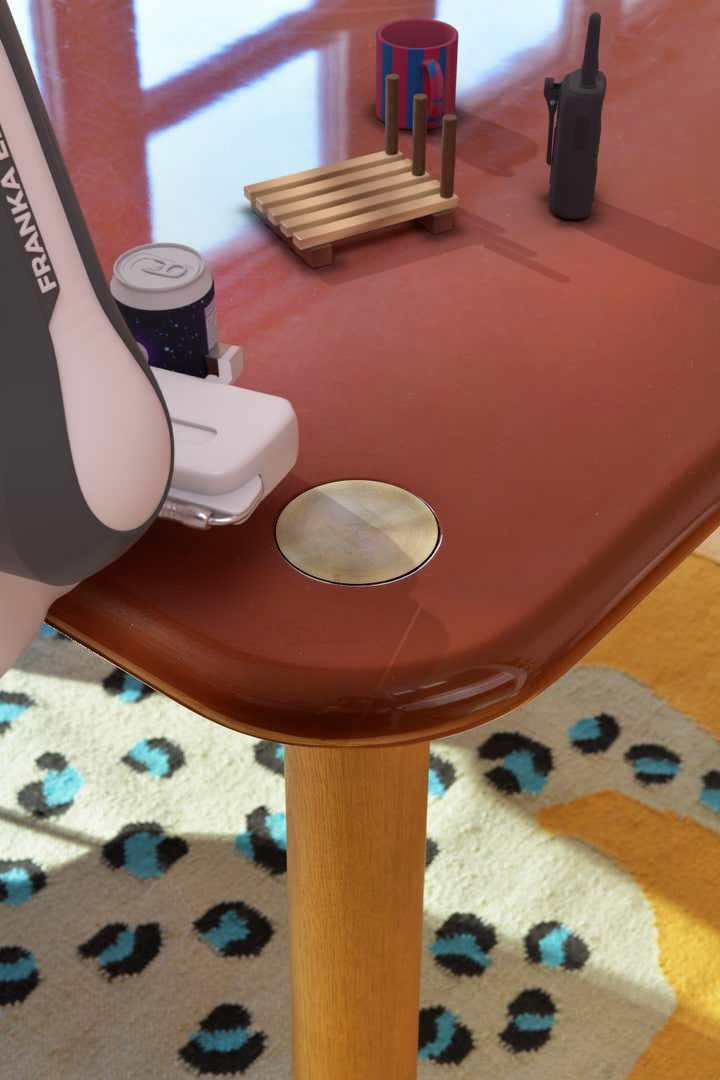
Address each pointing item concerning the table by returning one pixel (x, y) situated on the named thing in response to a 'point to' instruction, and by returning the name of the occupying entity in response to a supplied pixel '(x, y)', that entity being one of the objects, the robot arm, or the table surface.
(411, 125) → the mug
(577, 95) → the two-way radio
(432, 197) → the drying rack
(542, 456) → the table surface
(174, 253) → the beverage can
